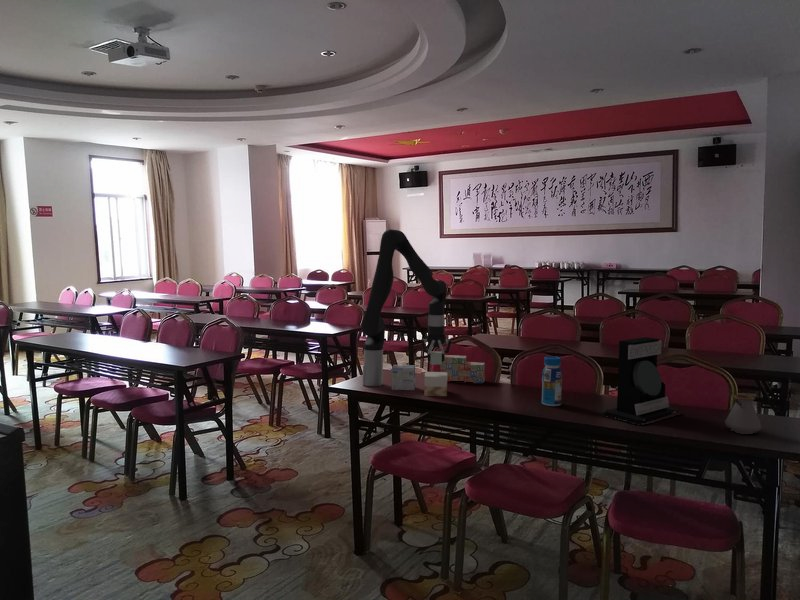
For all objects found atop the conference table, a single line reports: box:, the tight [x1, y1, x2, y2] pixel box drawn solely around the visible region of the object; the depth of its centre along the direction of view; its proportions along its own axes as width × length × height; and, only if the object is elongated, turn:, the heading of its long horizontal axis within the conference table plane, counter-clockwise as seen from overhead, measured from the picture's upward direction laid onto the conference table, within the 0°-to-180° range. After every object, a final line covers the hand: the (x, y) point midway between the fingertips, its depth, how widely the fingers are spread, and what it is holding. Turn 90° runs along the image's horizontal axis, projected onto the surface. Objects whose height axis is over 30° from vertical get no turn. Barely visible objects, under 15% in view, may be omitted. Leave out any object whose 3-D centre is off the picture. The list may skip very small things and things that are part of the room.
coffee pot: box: [724, 394, 762, 433], centre depth 213 cm, size 21×12×15 cm, turn 140°
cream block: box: [424, 371, 448, 388], centre depth 272 cm, size 10×10×4 cm
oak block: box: [423, 386, 448, 397], centre depth 273 cm, size 10×10×4 cm
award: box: [601, 336, 680, 424], centre depth 238 cm, size 30×19×30 cm, turn 126°
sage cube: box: [429, 350, 442, 365], centre depth 271 cm, size 5×5×5 cm
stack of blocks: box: [439, 354, 486, 384], centre depth 298 cm, size 21×6×12 cm, turn 74°
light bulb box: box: [391, 364, 416, 391], centre depth 281 cm, size 11×7×11 cm, turn 84°
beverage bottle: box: [541, 355, 563, 407], centre depth 254 cm, size 8×8×20 cm
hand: (436, 361), depth 272 cm, fingers closed on sage cube, 5 cm apart
